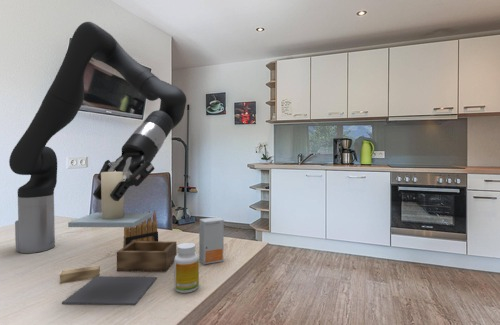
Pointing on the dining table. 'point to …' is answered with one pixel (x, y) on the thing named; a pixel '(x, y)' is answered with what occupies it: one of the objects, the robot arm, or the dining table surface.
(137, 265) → the wooden box
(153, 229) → the ammunition clip
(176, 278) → the supplement bottle
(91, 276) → the wooden block
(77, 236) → the dining table surface
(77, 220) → the lid
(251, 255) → the dining table surface
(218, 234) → the skincare box
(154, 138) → the robot arm
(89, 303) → the mat
